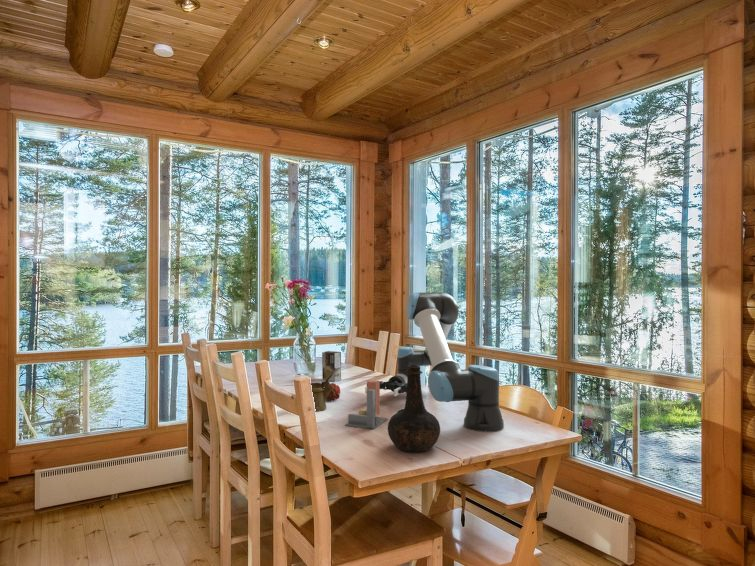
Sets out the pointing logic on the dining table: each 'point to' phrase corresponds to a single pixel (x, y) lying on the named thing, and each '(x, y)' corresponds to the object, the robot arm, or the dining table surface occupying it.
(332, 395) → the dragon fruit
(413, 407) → the glass bottle
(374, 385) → the link bar
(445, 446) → the dining table surface
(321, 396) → the brass mortar and pestle
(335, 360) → the coffee box
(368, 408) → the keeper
